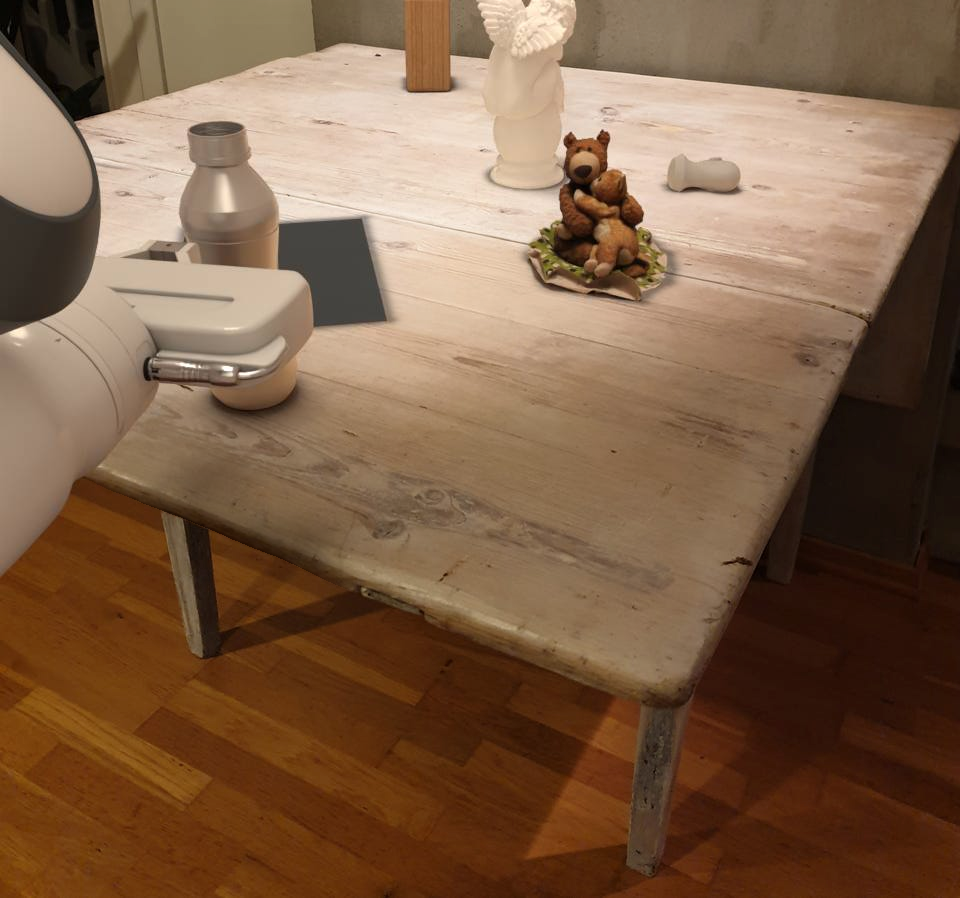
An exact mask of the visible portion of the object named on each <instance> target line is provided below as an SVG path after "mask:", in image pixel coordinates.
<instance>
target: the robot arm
mask: <svg viewBox="0 0 960 898" xmlns="http://www.w3.org/2000/svg"><path fill="white" fill-rule="evenodd" d="M94 159H95V158H94V157H93V154H92V151H91V149H90V147H89V145H88V143H87V141H86V139H85V138H84V135H83V134H82V132H81V131H80V129H79V127H78V125H77V124H76V122H75V121H74V119H73V117H72V116H71V115H70V113H69V111H68V110H67V109H66V108H65V106H64V105H63V104H62V103H61V101H60V100H59V99H58V97H57V96H56V95H55V94H54V93H53V91H52V90H51V89H50V87H48V85H47V84H46V83H45V82H44V81H43V79H42V78H41V77H40V76H39V75H38V73H36V71H35V70H34V69H33V68H32V67H31V65H30V64H29V63H28V62H27V61H26V60H25V58H24V57H23V56H22V55H21V54H20V53H19V52H18V50H17V49H16V48H15V47H14V45H12V43H11V42H10V41H9V40H8V39H7V37H6V36H5V35H4V34H3V33H2V31H1V30H0V578H2V577H3V576H4V575H5V574H6V573H7V571H9V570H10V568H12V566H14V565H15V564H16V563H17V562H18V560H20V558H21V557H22V556H23V555H24V554H25V553H26V552H27V551H28V550H29V548H30V547H32V545H33V544H34V543H35V542H36V541H37V540H38V539H39V537H41V535H42V534H43V533H44V532H46V529H48V527H49V526H51V524H52V523H53V522H54V521H55V520H56V519H57V517H58V516H59V514H60V513H61V512H62V511H63V509H64V507H65V505H66V503H67V502H68V499H69V497H70V494H71V492H72V491H71V490H72V488H73V484H74V482H76V481H77V480H79V479H81V478H83V477H85V476H86V475H88V474H90V473H92V471H94V470H95V469H97V468H98V467H99V466H100V465H101V464H102V463H103V462H104V461H105V460H106V459H107V458H108V456H109V454H111V452H112V451H113V450H114V449H115V448H116V447H117V446H118V444H119V443H121V441H122V440H123V439H124V437H125V436H126V435H127V433H128V432H129V431H130V430H131V429H132V428H133V426H134V425H135V424H136V423H137V421H138V420H139V419H140V418H141V416H143V414H144V413H145V412H146V411H147V409H148V408H149V407H150V406H151V405H152V403H153V402H154V399H155V398H156V395H157V394H158V391H159V387H160V384H166V385H177V386H187V387H188V386H189V387H198V388H210V389H211V388H220V389H244V388H250V387H254V386H257V385H259V384H261V383H263V382H265V381H267V380H268V379H270V378H271V377H273V376H274V375H275V374H276V373H278V372H279V371H280V370H281V369H282V368H283V367H284V366H285V365H286V364H287V363H288V362H289V361H290V360H291V359H292V358H293V357H294V356H295V357H296V355H297V354H299V352H300V351H301V350H302V349H303V348H304V347H305V345H306V344H307V343H308V341H309V340H310V338H311V337H312V335H313V332H314V327H313V306H312V298H311V292H310V287H309V284H308V282H307V281H306V280H305V279H304V278H303V276H302V275H300V274H299V273H298V272H295V271H289V270H275V269H262V268H248V267H235V266H222V265H209V264H202V262H201V256H200V250H199V246H198V244H197V243H188V242H184V241H170V240H169V241H167V240H158V239H149V240H148V241H147V242H145V243H144V244H143V245H142V246H140V248H135V249H130V250H127V251H124V252H123V251H122V252H120V253H116V254H112V255H108V256H103V255H102V256H101V255H97V254H96V253H97V249H98V244H99V239H100V238H99V236H100V230H101V229H100V228H101V220H102V200H101V199H102V198H101V189H100V180H99V175H98V170H97V166H96V163H95V160H94Z"/></svg>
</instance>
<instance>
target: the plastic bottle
mask: <svg viewBox="0 0 960 898" xmlns="http://www.w3.org/2000/svg"><path fill="white" fill-rule="evenodd" d="M186 132H187V133H186V136H187V141H188V147H189V150H188V156H189V160H190V162H192V163H193V164H195V168H194V169H193V171H192V174H191V175H190V177H189V179H188V181H187V183H186V185H185V187H184V190H183V192H182V194H181V196H180V202H179V209H178V216H179V220H180V225H181V228H182V231H183V234H184V237H186V240H187V242H188V243H197V244H198V246H199V250H200V256H201V262H202V264H209V265H222V266H235V267H248V268H262V269H275V270H278V240H279V224H280V205H279V202H278V200H277V198H276V195H275V193H274V191H273V190H272V188H271V187H270V186H269V185H268V184H267V182H266V181H265V179H264V178H263V177H262V176H261V175H260V174H259V173H258V172H257V171H256V170H255V169H254V168H253V167H252V166H251V164H250V163H249V160H250V159H251V158H252V148H251V146H250V145H249V139H248V133H247V129H246V126H245V124H243V123H242V122H241V123H240V122H238V121H231V120H213V121H204V122H199V123H196V124H194V125H191V126H189V127H188V128H187V129H186ZM297 373H298V361H297V358H296V355H295V356H294V357H293V358H292V359H291V360H290V361H289V362H288V363H287V364H286V365H285V366H284V367H283V368H282V369H281V370H280V371H279V372H278V373H276V374H275V375H274V376H273V377H271V378H270V379H268V380H267V381H265V382H263V383H261V384H259V385H257V386H254V387H250V388H244V389H220V388H210V391H211V393H212V394H213V396H215V398H216V399H218V400H219V401H220V402H221V403H222V404H223V405H225V406H227V407H229V408H232V409H236V410H242V411H255V410H263V409H268V408H271V407H274V406H276V405H279V404H280V403H282V402H284V401H285V400H287V398H288V397H289V396H290V395H291V393H292V391H293V390H294V388H295V386H296V384H297V376H298V375H297Z"/></svg>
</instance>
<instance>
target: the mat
mask: <svg viewBox="0 0 960 898" xmlns="http://www.w3.org/2000/svg"><path fill="white" fill-rule="evenodd" d="M183 242H187V240H186V237H185V236H184V237H183ZM278 270H289V271H295V272H298V273H299V274H300V275H302V276H303V278H304V279H305V280H306V281H307V282H308V284H309V287H310V292H311V298H312V306H313V328H319V327H331V326H343V325H355V324H357V325H358V324H366V323H367V324H368V323H379V322H381V323H382V322H387V321H388V319H387V315H386V311H385V307H384V303H383V299H382V294H381V291H380V287H379V282H378V279H377V275H376V271H375V267H374V262H373V258H372V255H371V250H370V246H369V242H368V238H367V234H366V230H365V226H364V221H363V218H347V219H346V218H345V219H331V220H316V221H315V220H314V221H303V222H302V221H301V222H285V223H279V240H278Z"/></svg>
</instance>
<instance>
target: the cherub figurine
mask: <svg viewBox="0 0 960 898" xmlns="http://www.w3.org/2000/svg"><path fill="white" fill-rule="evenodd" d="M475 2H477V3H478V4H477V9H478V10H479V11H480V16H481V18H482V19H484V21H483V26H484V28H485V32H486V33H487V34H488V38H489V40H490V41H492V43H493V44H494V45H493V47H492V49H491V51H490V54H489V58H488V63H487V73H486V77H485V80H484V82H483V86H482V89H481V94H482V98H483V104H484V109H485V110H486V112H487V113H488V114H490V115H491V116H495V117H494V120H493V126H492V127H493V128H492V135H493V142H494V145H495V147H496V150H497V152H498V155H497V157H496V163H497V166H495V167H494V168H492V170H491V172H490V179H491V180H492V181H493V182H494V183H496V184H498V185H500V186H503V187H508V188H514V189H522V190H536V189H545V188H549V187H553V186H555V185H557V184H559V183H561V182H562V180H563V179H564V177H565V173H564V172H565V171H564V169H563V168H562V167H561V166H559V165H558V164H557V163H558V161H559V157H558V155H557V154H556V152H557V150H558V147H559V145H560V142H561V139H562V132H563V130H562V129H563V125H562V117H561V114H563V113H564V111H565V104H564V103H565V102H564V100H565V99H564V98H565V83H564V79H563V77H562V69H561V66H560V63H559V62H558V61H561V60H562V58H563V56H564V45H566V43H568V40H569V39H570V38H571V36H572V35H573V33H574V29H575V23H576V21H577V7H576V1H575V0H530V2H529V4H528V6H526V5H525V3H524V1H523V0H475Z"/></svg>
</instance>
